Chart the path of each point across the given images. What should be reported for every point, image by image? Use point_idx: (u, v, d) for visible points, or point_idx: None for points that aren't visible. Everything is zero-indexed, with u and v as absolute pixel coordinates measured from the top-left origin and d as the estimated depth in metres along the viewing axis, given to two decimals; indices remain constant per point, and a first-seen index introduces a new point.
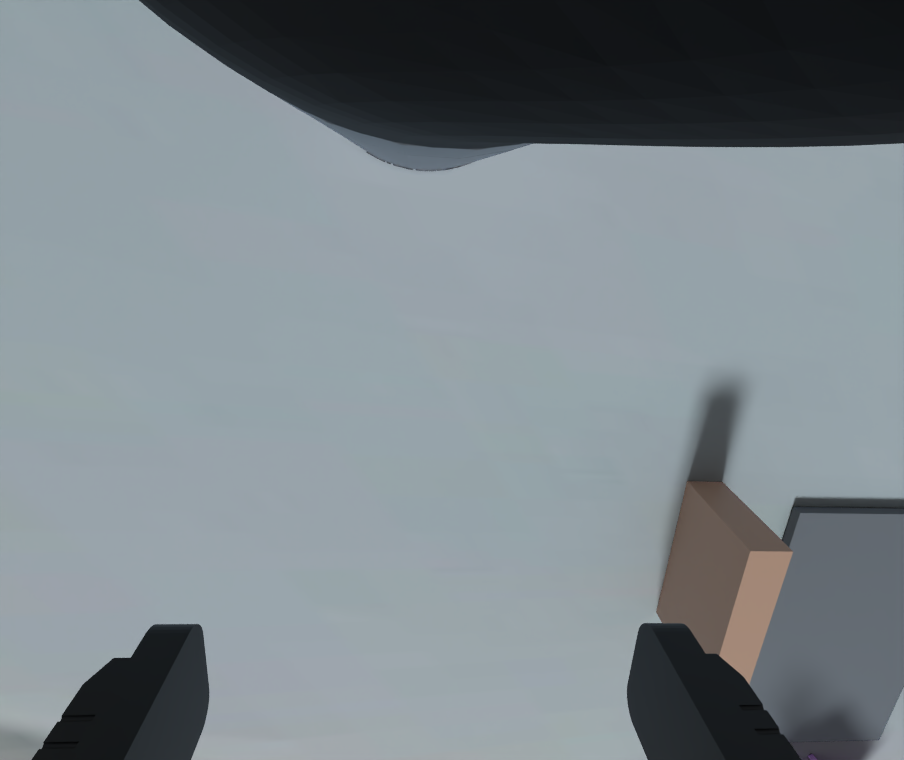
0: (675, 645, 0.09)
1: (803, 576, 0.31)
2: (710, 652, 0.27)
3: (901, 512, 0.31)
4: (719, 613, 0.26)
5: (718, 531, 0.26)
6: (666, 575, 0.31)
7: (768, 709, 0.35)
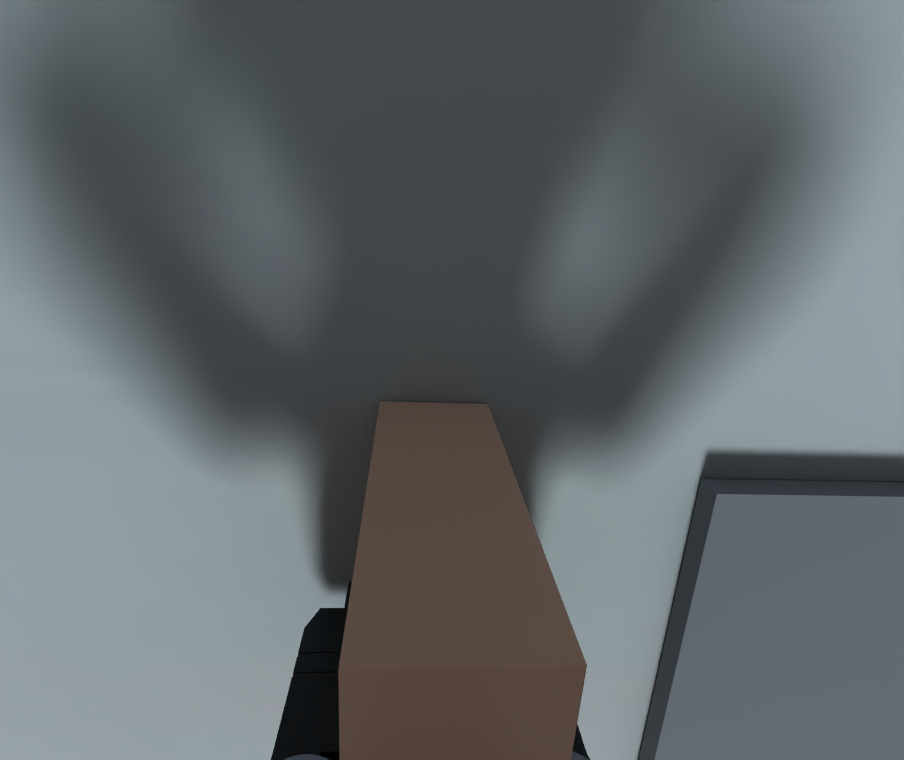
0: None
1: (738, 669, 0.12)
2: None
3: None
4: None
5: None
6: None
7: None
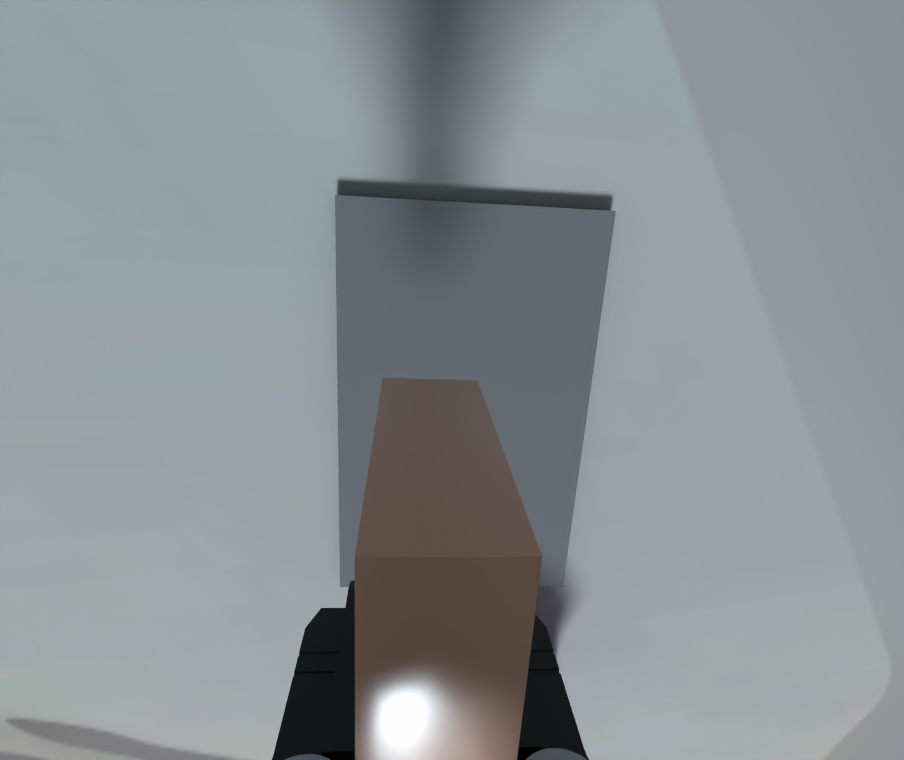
0: None
1: (372, 308, 0.22)
2: None
3: None
4: None
5: None
6: None
7: None
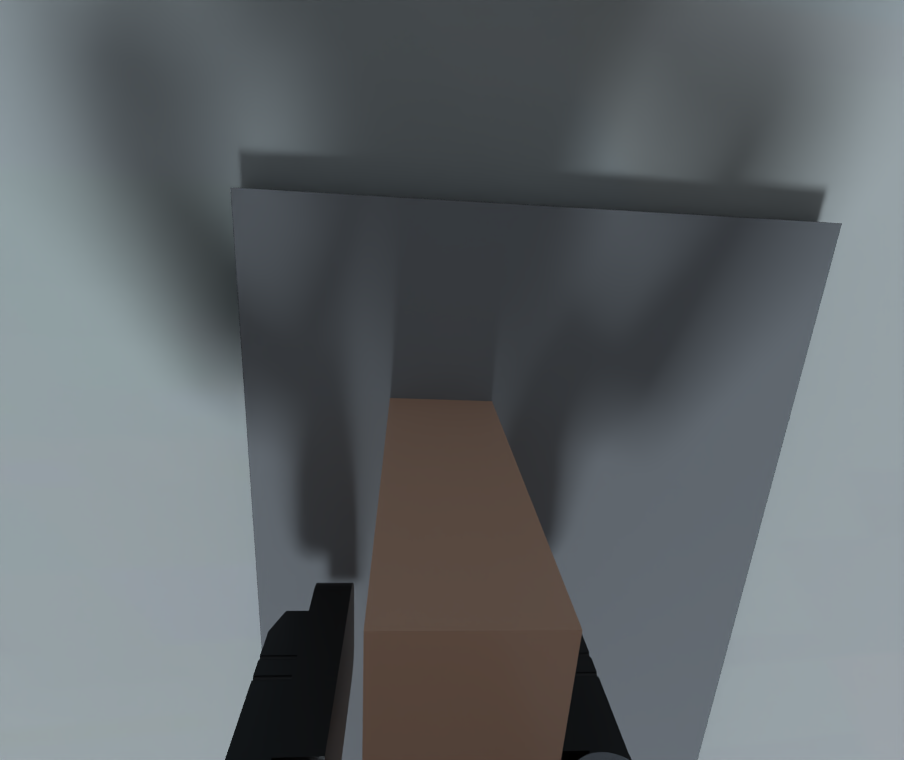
0: None
1: (322, 425, 0.11)
2: None
3: None
4: None
5: None
6: None
7: None
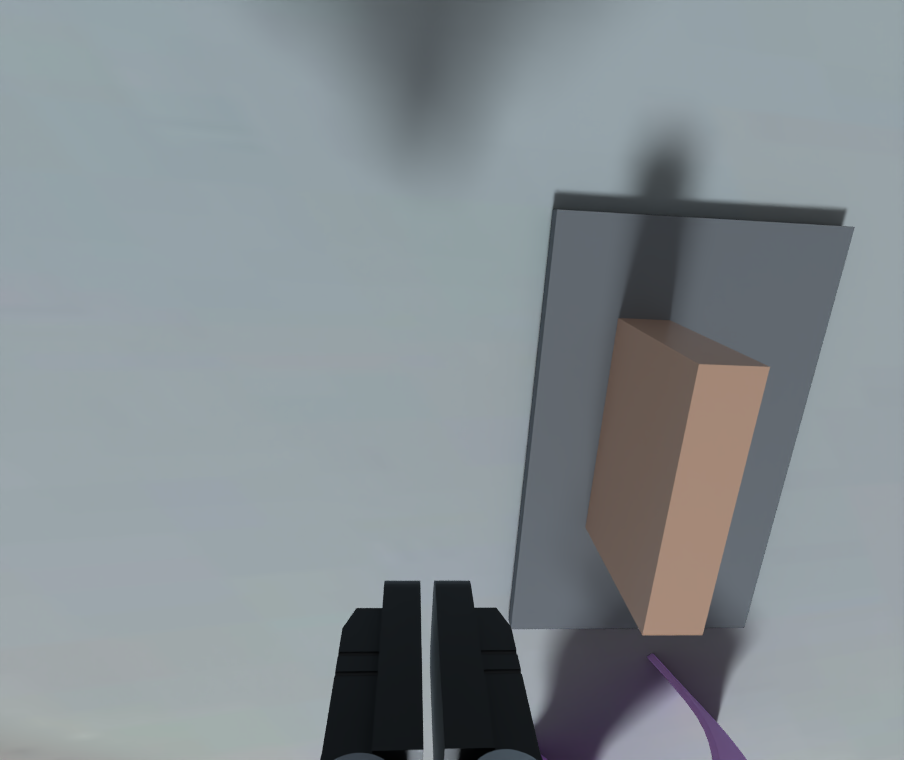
0: (449, 598, 0.10)
1: (581, 332, 0.20)
2: (647, 556, 0.17)
3: None
4: (658, 489, 0.16)
5: (656, 363, 0.17)
6: (596, 469, 0.22)
7: (567, 571, 0.24)
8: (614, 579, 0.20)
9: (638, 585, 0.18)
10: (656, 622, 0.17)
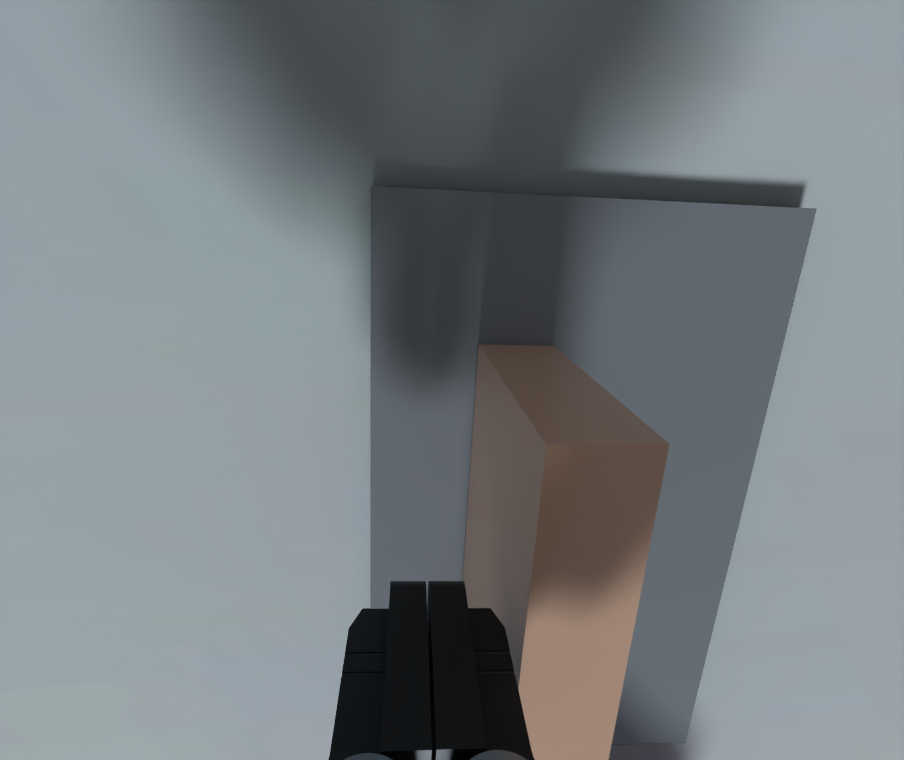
0: (443, 598, 0.10)
1: (426, 364, 0.14)
2: None
3: None
4: (510, 629, 0.10)
5: (507, 424, 0.11)
6: (465, 553, 0.16)
7: None
8: None
9: None
10: None
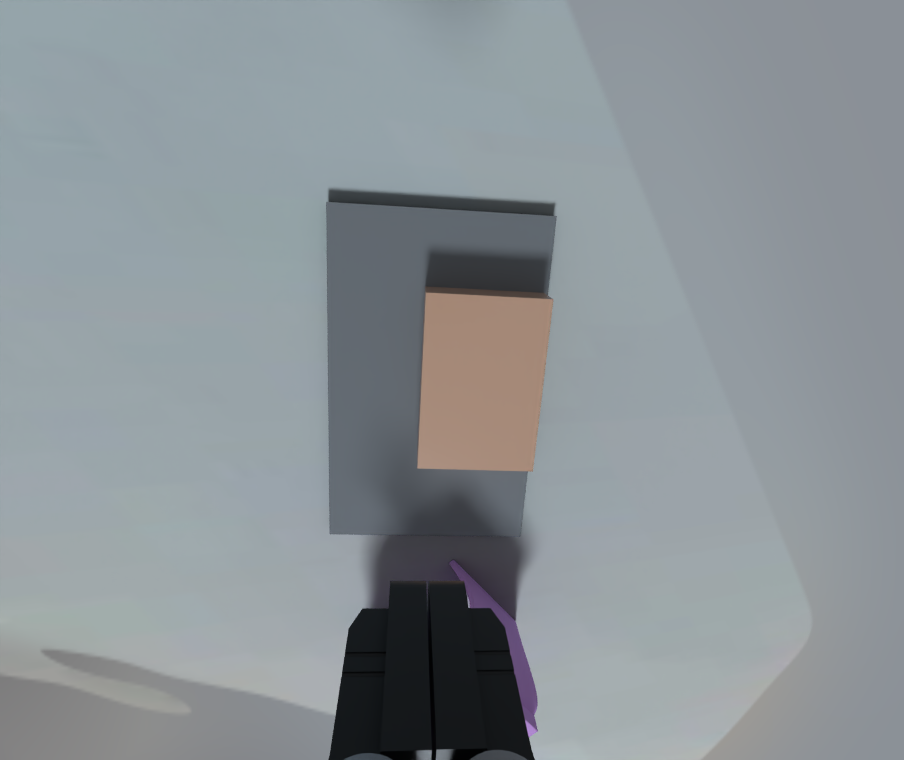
0: (443, 598, 0.10)
1: (356, 295, 0.27)
2: (526, 426, 0.27)
3: (457, 210, 0.26)
4: (527, 383, 0.27)
5: (502, 311, 0.25)
6: (424, 416, 0.27)
7: (369, 486, 0.30)
8: (484, 468, 0.28)
9: (519, 449, 0.28)
10: None
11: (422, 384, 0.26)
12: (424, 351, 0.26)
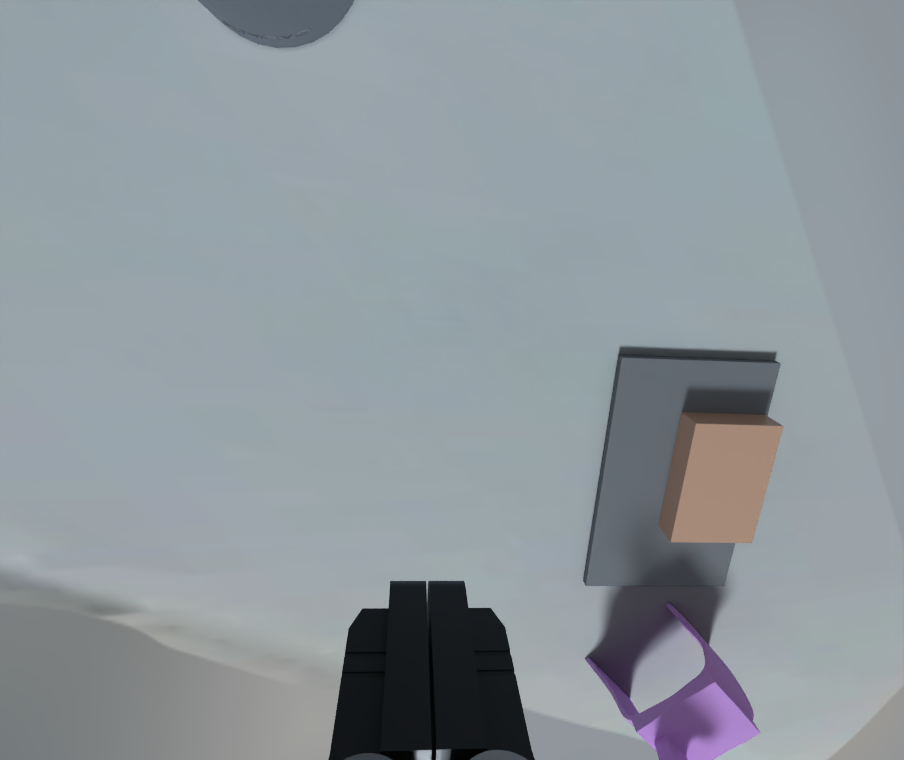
0: (443, 598, 0.10)
1: (632, 418, 0.37)
2: (752, 512, 0.38)
3: (710, 360, 0.36)
4: (757, 482, 0.37)
5: (746, 434, 0.36)
6: (681, 506, 0.37)
7: (620, 551, 0.40)
8: (718, 541, 0.38)
9: (745, 527, 0.38)
10: None
11: (683, 484, 0.37)
12: (688, 462, 0.36)
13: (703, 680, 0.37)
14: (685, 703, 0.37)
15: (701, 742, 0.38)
